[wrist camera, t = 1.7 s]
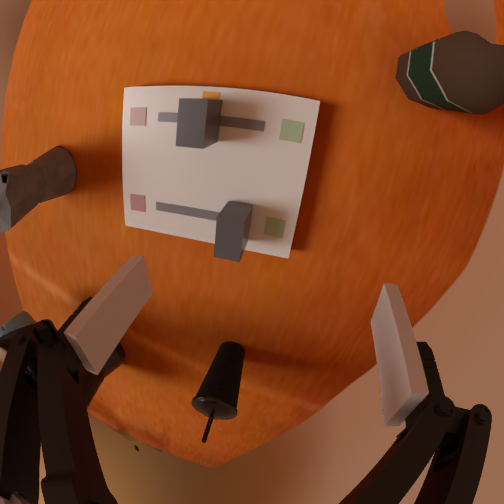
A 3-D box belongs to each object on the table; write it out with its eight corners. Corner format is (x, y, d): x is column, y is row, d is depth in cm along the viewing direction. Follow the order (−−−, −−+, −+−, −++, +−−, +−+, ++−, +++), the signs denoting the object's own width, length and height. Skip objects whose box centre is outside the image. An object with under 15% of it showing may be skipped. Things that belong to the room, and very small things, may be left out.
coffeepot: (63, 126, 34) (-25, 156, 19) (91, 165, 37) (3, 210, 22) (33, 182, 41) (-35, 222, 25) (57, 217, 44) (-9, 266, 28)
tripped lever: (193, 139, 30) (175, 146, 26) (197, 98, 28) (179, 98, 23) (217, 141, 30) (203, 148, 26) (222, 99, 27) (208, 99, 23)
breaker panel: (133, 218, 41) (125, 225, 38) (134, 87, 30) (124, 87, 28) (289, 249, 39) (288, 259, 36) (319, 101, 28) (320, 101, 26)
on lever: (225, 236, 36) (213, 256, 32) (228, 200, 34) (216, 216, 29) (247, 241, 36) (239, 262, 32) (253, 205, 33) (244, 221, 29)
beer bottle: (429, 120, 26) (577, 173, 6) (381, 78, 25) (514, 53, 5) (456, 79, 22) (603, 92, 2) (411, 37, 21) (539, -16, 1)
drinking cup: (231, 330, 49) (199, 429, 32) (260, 354, 51) (238, 449, 34) (205, 344, 52) (170, 432, 35) (232, 366, 54) (207, 451, 37)
